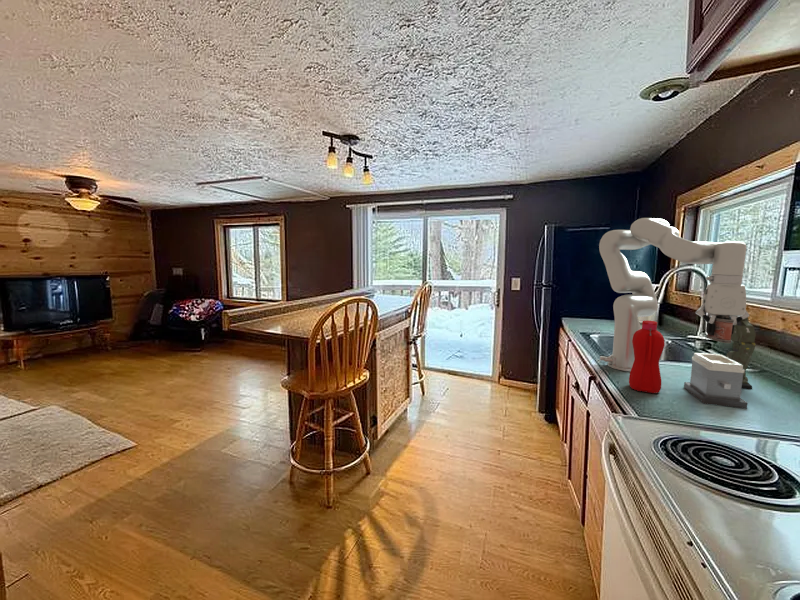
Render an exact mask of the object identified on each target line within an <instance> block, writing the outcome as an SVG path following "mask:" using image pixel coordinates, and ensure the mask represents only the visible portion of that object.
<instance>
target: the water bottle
mask: <svg viewBox="0 0 800 600" xmlns="http://www.w3.org/2000/svg"><path fill="white" fill-rule="evenodd" d="M657 326H658V322H657V321H656V320H655V321H654V320H642V323H641V329H640V330H638V331H636V332H635V333H634V335H633V340H632V343H633V349H634V359H635V360H634V363H633V366H632V369H631V371H629V376H628V383H629V388H631V389H632V390H633V389H634V391H636V390H637V391H636V392H641V391H642V393H643V392H644V393H647V394H648V393H649V394H657V393H660V391H661V389H662V376H661V369H660V359H661V356H662V354H663V351H664V349H665V338H664V335H663V334H662V333H661V332H660V331H658V330H657V328H658V327H657Z"/></svg>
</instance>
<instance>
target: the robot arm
mask: <svg viewBox="0 0 800 600" xmlns="http://www.w3.org/2000/svg"><path fill="white" fill-rule="evenodd" d="M670 225H671V224H670V223H669V222H668V221H667V220H665V219H663V218H658V217H657V218H655V217H653V218H652V217H641V218H638V219H637V220H635V221H633V222H632V223H631V225H630V228H629V229H613V230H609V231H607V232H605V233H604V234H603V235H602V237H601V239H600V240H599V244H598V246H599V247H598V248H599V254H600V256H601V258H602V260H603V264H604V266H605V269H606V272H607V277H608V279H609V283H610V287H611V289H612V290H613V291H614V292H616V293H617V294H624V295H621V296H618V297H617V298H615V300H614V302H613V305H612V307H613V316H614V328H613V330H614V332H613V344H612V354H610V355H609V356H605V355H600V356H599V360H600V361H602V362H605V363H607V366H608V367H610V368H612V369H614V370H618V371H624V372H630V371H631V369H632V366H633V363H634V360H635V359H634V349H633V343H632V340H633V335H634V333H635V332H636V331H638V330H640V329H642V325H641V323H640V320H639V318H640V317H641V318H642V317H651V316H653V315H655V314H656V312H658V309H659V303H658V298H657V296H656V293H655V289H654V286H653V283H652V281H651V278H650V277H649V276H648V274H647V273H645V272H643V271H640V270H632V269H631V267H630V265H629V262H628V259H627V258H626V256H625V255H624V254H623V253H622V252H621V250H623V251H624V250H625V251H626V250H628V251H632V250H633V251H634V250H639V249H643V248H644V247H647V246H651V245H652V246H654V247H656V248H659V250H660V251H661V252H662V253H663V254H664V255H665V256H667V257H668V258H670V259H673V260H675V261H678V262H680V263H682V264H683V263H684V264H688V265H712V269H711V274H710V275H709V276H708V275H707V276H705V280H706V281H708V282H709V283H708V284H707V285H706V288H705V290H704V294H703V298H702V303H701V306H700V307H699V308H698V309H697V310H696V311H695V314H696V315H697V316H699V317H701V318H702V319H703V320H704V321H705V322H706V329H705V331H706V333H707V334H706V335H708V334H709V335H711V336H713V335H714V332H715V324H714V320H715V317H716V315H724V316H726V315H730V317H729V319H732V320H734V323H733V326H732V333H731V336H732V334H733V332H734V325H736V324H737V323H738V322H739V321H741V320H742V319H745V318H747V317H748V318H749V317H750V314H749V312H748V311H747V309H746V308H747V293H746V292H747V291H746V290H747V289H746V285H744V284H742V283H743V278H744V277H743V276H744V268H745V260H746V256H747V255H746V254H747V244H746V243H745V242H743V241H725V242H724V241H723V242H722V241H721V242H714V241H691V240H688V239H686V238H684V237H681V236H680V231H679V230H678V229H677V228H676V227H674V226H670ZM628 293H629V294H628ZM631 293H632V294H631ZM705 313H706V314H705Z"/></svg>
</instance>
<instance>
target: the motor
mask: <svg viewBox="0 0 800 600" xmlns="http://www.w3.org/2000/svg"><path fill="white" fill-rule="evenodd" d="M691 361H692V362H691V371H690V382H689V381H687V382H686V381H685V382H684V383H683V384H684V385H683V388H684V389H685V390H686V391H687V392H689V393H691V395H692V396H694V397H695V398H697V400H699V401H700V402H701V403H703V405H710V406H719V407H727V408H728V407H729V408H735V409H736V408H737V409H748V404H749V403H748V401H746V400H744V399H743V398H742V397H741V396H742V390H743V389H742V380H743V373H744V371H745V370H744V369H743V365H742V364H740V363H738V362H736V361H734V360H732V359H729V358H727V357H726V355H724V354H717V353H715V354H714V353H701V352H694V353H693V356H692V357H691ZM745 372H746V371H745Z"/></svg>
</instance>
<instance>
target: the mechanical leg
mask: <svg viewBox="0 0 800 600" xmlns="http://www.w3.org/2000/svg"><path fill="white" fill-rule="evenodd" d="M755 339H756V331H755V328H754V325H753V324H752V323H751V322H750V320H749V317H747V318H745V319H742V320H741V321H739V322H738V323H737V324H736V325H734V332H733V334H732V336H731V342H733V344H732V346H733V347H732V350H728V351H726V355H725V357H727V358H729V359H732V360H734V361H736V362H738V363H740V364H742V365H743V369H744V370H745V371H744V373H743V380H742V388H747V389H746V390H753V385H752V384H751V383H750V382H749V379H748V377H747V373H746V371H747V369H748V367H749V364H750V361H751V358H752V356H753V354H754V351H755V348H756V346H757V345H756V343H755Z"/></svg>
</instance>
